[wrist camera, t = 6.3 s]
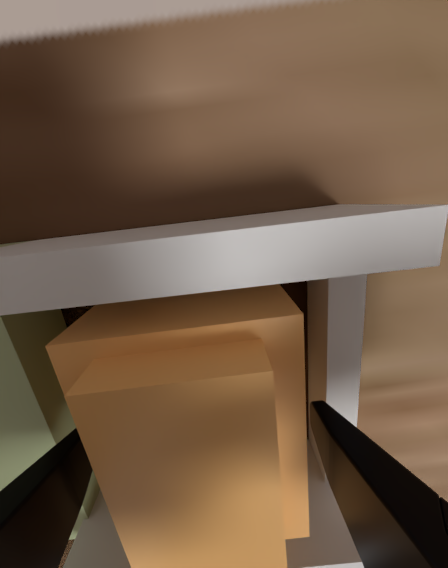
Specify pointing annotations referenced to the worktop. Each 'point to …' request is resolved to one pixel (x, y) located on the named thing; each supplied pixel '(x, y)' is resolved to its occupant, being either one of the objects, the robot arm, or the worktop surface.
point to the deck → (197, 279)
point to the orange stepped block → (194, 423)
